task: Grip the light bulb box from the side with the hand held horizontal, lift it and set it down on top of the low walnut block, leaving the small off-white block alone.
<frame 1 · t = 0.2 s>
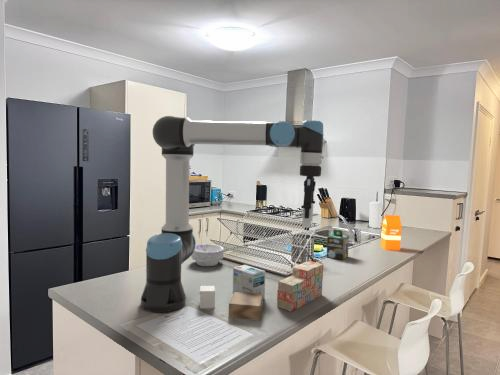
hand: (307, 224, 129), 28 cm above the countertop, tool pointing down, fingers open, 13 cm apart
light bulb box: (248, 297, 132), on the countertop
stack of blocks: (300, 301, 131), on the countertop
paper bowls: (207, 264, 172), on the countertop
orange juice: (390, 248, 215), on the countertop
walnut block: (245, 313, 119), on the countertop
chalk box: (337, 257, 191), on the countertop
off-white block: (207, 305, 124), on the countertop
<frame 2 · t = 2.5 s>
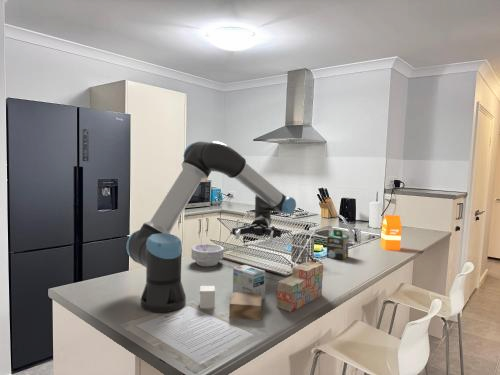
hand: (253, 237, 140), 21 cm above the countertop, tool horizontal, fingers open, 13 cm apart
nothing on the countertop moved.
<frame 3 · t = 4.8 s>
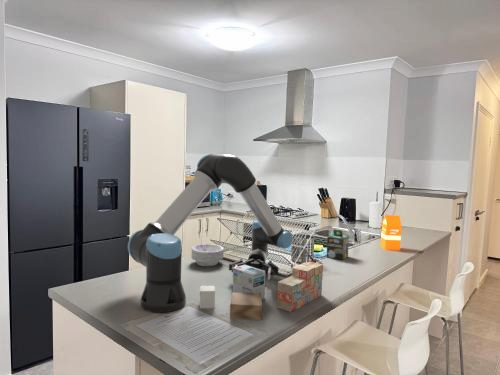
hand: (251, 274, 138), 6 cm above the countertop, tool horizontal, fingers open, 13 cm apart
nothing on the countertop moved.
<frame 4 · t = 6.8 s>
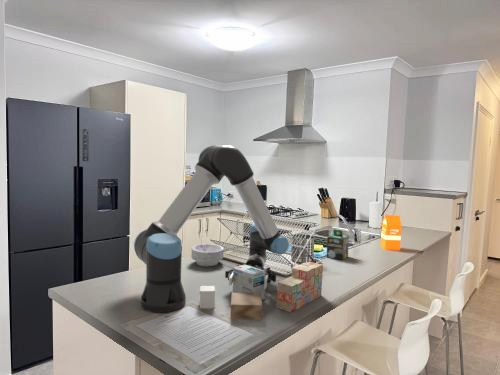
hand: (247, 283, 128), 7 cm above the countertop, tool horizontal, fingers closed on light bulb box, 12 cm apart
light bulb box: (248, 297, 132), on the countertop, touching gripper
everything else where it was.
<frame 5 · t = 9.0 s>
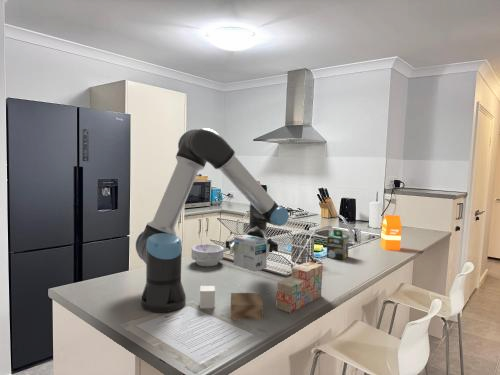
hand: (249, 251, 125), 19 cm above the countertop, tool horizontal, fingers closed on light bulb box, 12 cm apart
light bulb box: (249, 267, 129), point 12 cm above the countertop, touching gripper
when the fingers open (13 cm above the countertop, at t = 11.4 s): light bulb box drops 2 cm, resting on walnut block.
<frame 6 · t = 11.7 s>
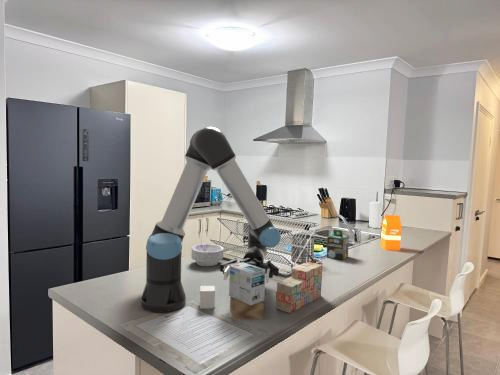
hand: (245, 277, 115), 13 cm above the countertop, tool horizontal, fingers open, 13 cm apart
light bulb box: (246, 299, 119), point 4 cm above the countertop, touching walnut block
walnut block: (246, 313, 119), on the countertop, touching light bulb box
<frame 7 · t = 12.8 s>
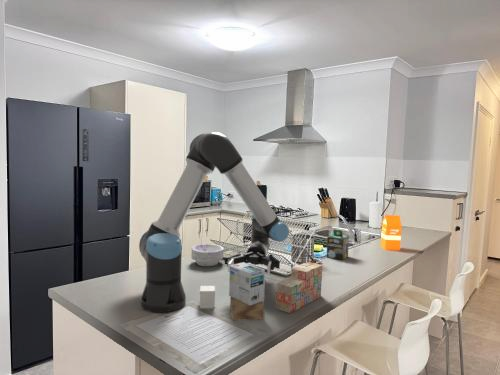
hand: (248, 269, 123), 13 cm above the countertop, tool horizontal, fingers open, 13 cm apart
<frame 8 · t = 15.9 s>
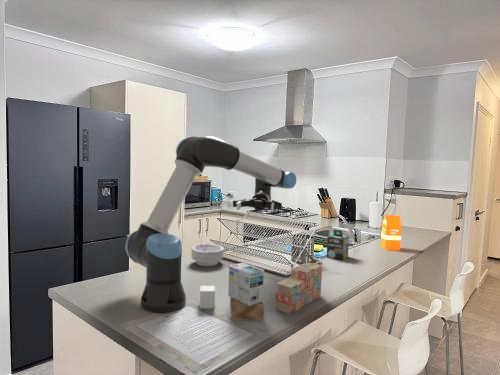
hand: (254, 207, 140), 32 cm above the countertop, tool horizontal, fingers open, 13 cm apart
at the end: light bulb box inside the target area on the walnut block (0.6 cm from its centre), point 4.8 cm above the walnut block's base; light bulb box tilted 0°; the gripper is holding nothing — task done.
